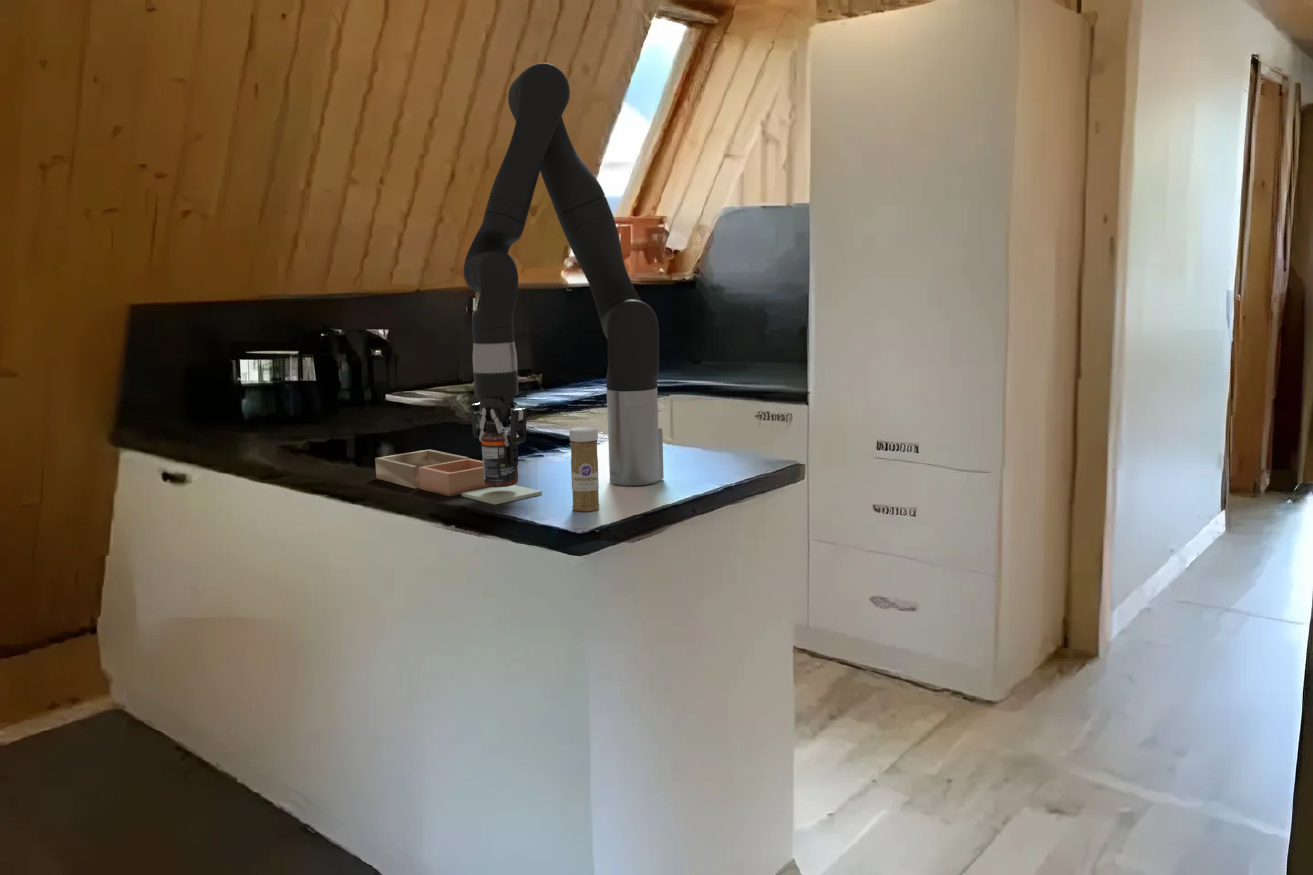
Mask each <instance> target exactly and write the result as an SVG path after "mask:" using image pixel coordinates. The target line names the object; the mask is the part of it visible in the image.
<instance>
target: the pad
mask: <svg viewBox="0 0 1313 875" xmlns="http://www.w3.org/2000/svg"><path fill="white" fill-rule="evenodd" d="M460 495H461V497H463V498H467V499H471V500H474V501H479V502H483V503H487V504H490V505H500V504H503V503H509V502H513V501H518V500H523V499H526V498H533V497H537V496H541V495H543V492H542V490H538V489H534V488H529V487H524V486H520V485H517V484H515V485H512V486H509V487H498V488H495V487H489V488H484V489H479V490H473V491H468V492H463V493H461V494H460Z"/></svg>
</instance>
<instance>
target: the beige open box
mask: <svg viewBox="0 0 1313 875" xmlns="http://www.w3.org/2000/svg"><path fill="white" fill-rule="evenodd" d="M463 459H469V457H468V456H463V455H458V454H453V453H448V452H445V451H444V452H443V451H439V450H434V449H425V450H417V451H412V452H406V453H405V452H404V453H399V454H391V455H388V456H387V455H386V456H380V457H379V456H378V457H375V458H374V462H375V463H374V464H375V474H376V476H375V477H376V479H377V480H380V481H381V480H382V481H385V482H389V483H393V484H396V485H400V486H404V487H408V488H410V489H411V488H412V489H418V488H419V489H420V485H419V470H418V467H423V466H428V465H434V464H440V463H446V462H452V461H457V460H463Z"/></svg>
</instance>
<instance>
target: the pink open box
mask: <svg viewBox="0 0 1313 875" xmlns="http://www.w3.org/2000/svg"><path fill="white" fill-rule="evenodd" d="M418 470H419V472H418V476H419V490H424V491H427V492H431V493H435V494H438V493H439V494H438V495H442V496H447V497H454V496H459V495H462V494H461V493H463V492H468V491H473V490H479V489H484V488H489V487H488V486H486V485H485V483H484V473H483V460H479V459H473V458H469V459H463V460H457V461H452V462H446V463H440V464H434V465H428V466H423V467H418Z"/></svg>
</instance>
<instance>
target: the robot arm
mask: <svg viewBox="0 0 1313 875" xmlns="http://www.w3.org/2000/svg"><path fill="white" fill-rule="evenodd" d="M508 90H509V91H508V98H507V100H508V101H507V102H508V106H509V109H510V112H511V114H512V117H513V118H514V120H515V125H514V128H513V132H512V136H511V138H510V139H511V140H510V142H509V145H508V147H507V151H506V153H505V154H504V157H503V160H502V162H501V164H500V167H499V170H498V172H497V173H496V176H495V178H494V181H493V184H492V187H491V188H490V193H489V196H488V200H487V202H486V207H485V211H484V213H483V214H484V215H483V219H482V223H481V225H480V227H479V229H478V231H477V233H476V234H475V236H474V238H473V240H472V243H471V244H470V247H469V249H468V250H467V253H466V256H465V260H464V264H463V277H464V281H465V284H466V285H467V286H468V288H470V289H471V290H472V291H474V292H476V293H479V306H478V308H477V309H476V310H474V312H473V314H472V318H471V326H472V343H473V344H472V348H473V349H472V368H473V372H472V373H473V374H472V375H473V388H474V389H473V391H474V396H475V397H477V399H478V398H479V399H480V402H477V403H476V402H475V403H470V404H469V412H470V420H471V428H472V436H473V437H474V438H478V440H479V442H480V443H482V441H481V438H482V436H483V434H484V433H485V432H486V430H487V429H486V422H487V421H491V422H495V424H496V428H497V431H498V433H499V434H500V435H501V436H502V438H503V441H504V444H505V446H504V452H505V466H506V467H508V468H511V467H516V466H517V467H518V465H519V452H518V451H519V449H518V448H519V445H520V444H522V443H525V442H526V440H527V417H528V415H527V414H528V410H527V408H526V407H522V408H519V407H516V404H515V400H514V398H515V397H516V396H517V395H519V393H520V392H519V375H518V374H519V372H518V355H517V349H516V343H515V327H514V323H515V322H514V313H515V309H516V301H517V298H518V297H517V296H518V291H519V274H518V273H519V271H518V268H517V265H516V262H515V260H514V259H513V257H512V256H511V255H509V251H510V249H511V247H512V246H513V245H514V243H516V242H518V241H519V240H520V239H521V237H522V235H523V234H524V233H523V232H524V230H525V227H526V223H527V219H528V216H529V212H530V209H531V206H532V200H533V198H534V195H535V194H534V193H535V190H536V185H537V184H538V183H537V182H538V180H539V179H538V178H539V175H540V174H541V177H542V180H543V183H544V186H545V188H546V190H547V193H548V196H549V198H550V201H551V203H552V206H553V209H554V213H555V214H556V217H557V219H558V221H559V224H560V226H561V229H562V232H563V234H564V236H565V237H566V241H567V243H568V245H569V247H570V249H571V251H572V253H573V256H574V257H575V259H576V261H577V263H578V265H579V267H580V269H581V272H582V273H583V275H584V277H585V279H586V281H587V283H588V285H589V289H590V290H591V294H592V296H593V300H594V302H595V306H596V311H597V313H598V317H599V320H600V325H601V328H602V331H603V332H602V333H603V334H604V336H605V338H606V340H607V372H606V376H605V379H606V380H605V381H606V404H607V405H606V406H607V407H606V408H607V413H606V414H607V437H608V438H607V439H608V440H607V441H608V467H609V483H611V484H614V485H619V486H630V487H631V486H646V485H653V484H655V483H659V481H661V480H663V479H664V477H665V476H664V446H663V444H664V443H663V442H664V439H663V438H664V436H663V434H664V433H663V429H662V427H659V408H658V406H659V403H658V378H659V377H658V376H659V372H660V326H659V321H658V320H659V319H658V317H657V314H656V312H655V311H654V309H653V308H652V307H651V306H650V305H649V304H647V303H646V302H644V301H641V300H642V299H641V298H640V297H639V294H638V293H637V291H636V288H635V287H634V284H633V282H632V280H631V278H630V276H629V273H628V271H627V268H626V265H625V261H624V258H623V251H622V245H621V241H620V235H619V232H618V226H617V224H616V221H615V217H614V214H613V212H612V209H611V207H610V204H609V202H608V201H609V200H608V198H607V196H606V194H605V192H604V189H603V188H602V186H601V183H600V182H599V181H598V180H597V178H596V176H595V175H594V173H593V172H592V170H591V169H590V168H589V167H588V166H587V164H586V163H585V162H584V160H583V159H582V158H581V157H580V155H579V154H578V152H577V151H576V149H575V147H574V145H573V144H572V141H571V139H570V136H569V134H568V130H567V128H566V125H565V122H564V118H563V114H564V112H565V110H566V108H567V107H568V104H569V100H570V96H571V95H570V94H571V93H570V84H569V80H568V79H567V76H566V75H565V74H564V73H563V71H562V70H561V69H560V68H559V67H558V66H556V65H554V64H551V63H547V62H540V63H535V64H532V65H530V66H529V67H527V68H526V69H524V70H523V71H522V72H521V73H520V74H519V75H518V76H517V77H516V78H515V79H514V81H512V83H511V84H510V87H509V89H508ZM508 426H509V427H508ZM504 427H508V428H504ZM518 431H519V434H518ZM508 433H510V438H509V436H508Z"/></svg>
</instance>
